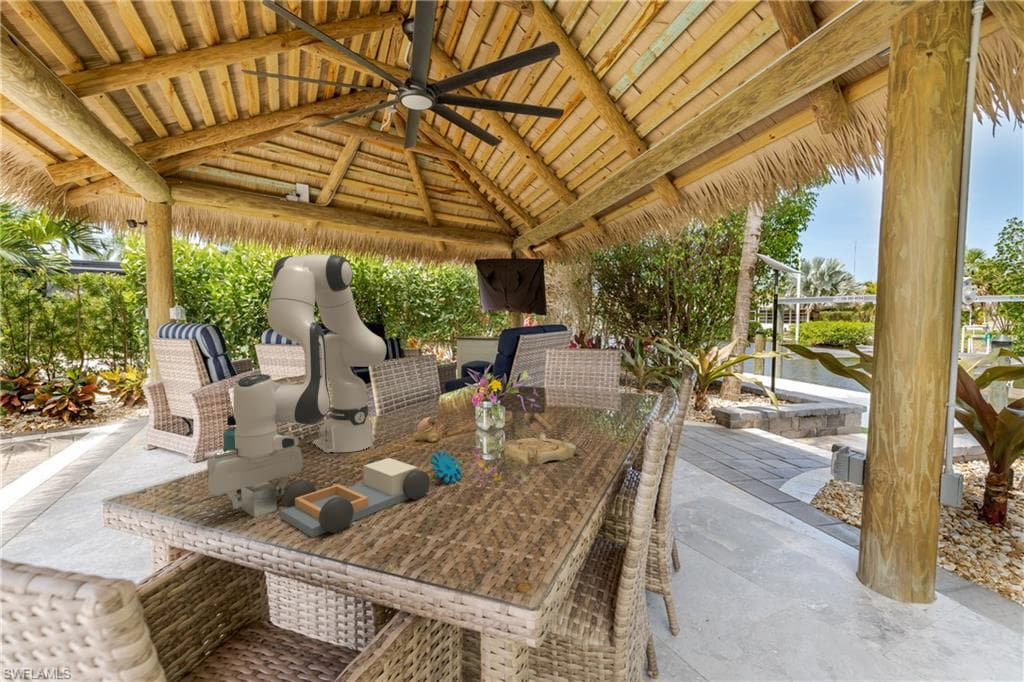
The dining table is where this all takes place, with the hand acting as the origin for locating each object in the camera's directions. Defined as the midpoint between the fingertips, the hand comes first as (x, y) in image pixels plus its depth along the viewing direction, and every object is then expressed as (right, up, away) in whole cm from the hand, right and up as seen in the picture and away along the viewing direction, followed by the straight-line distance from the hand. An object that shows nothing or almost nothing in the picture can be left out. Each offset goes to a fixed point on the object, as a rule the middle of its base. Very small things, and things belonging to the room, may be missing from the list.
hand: (259, 500), depth 111 cm
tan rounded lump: (+29, +2, +58) cm, 65 cm away
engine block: (0, -2, 0) cm, 2 cm away
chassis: (+23, -2, +3) cm, 23 cm away
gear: (+42, -1, +20) cm, 47 cm away
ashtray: (+69, 0, +43) cm, 82 cm away
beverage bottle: (-12, -1, +12) cm, 17 cm away
